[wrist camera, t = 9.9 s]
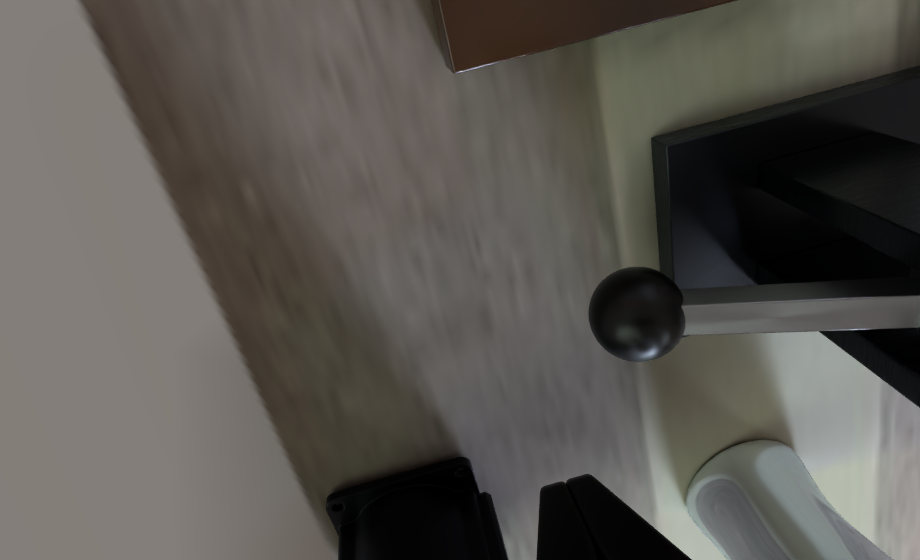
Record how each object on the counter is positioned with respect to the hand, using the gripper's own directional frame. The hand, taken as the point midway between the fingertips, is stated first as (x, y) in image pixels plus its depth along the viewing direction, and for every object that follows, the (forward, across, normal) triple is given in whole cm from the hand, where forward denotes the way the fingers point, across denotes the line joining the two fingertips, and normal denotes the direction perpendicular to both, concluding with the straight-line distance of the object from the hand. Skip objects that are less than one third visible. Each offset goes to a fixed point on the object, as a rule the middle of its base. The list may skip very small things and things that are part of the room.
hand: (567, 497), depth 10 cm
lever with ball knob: (+8, -9, +3) cm, 13 cm away
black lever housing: (+13, -13, +3) cm, 19 cm away
